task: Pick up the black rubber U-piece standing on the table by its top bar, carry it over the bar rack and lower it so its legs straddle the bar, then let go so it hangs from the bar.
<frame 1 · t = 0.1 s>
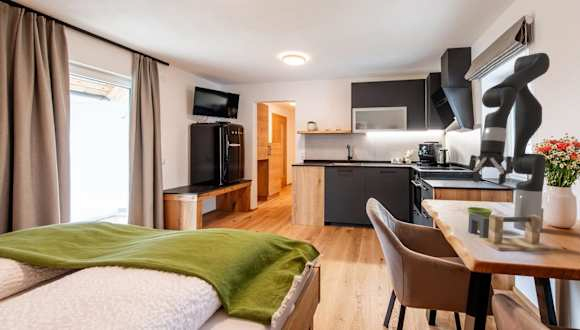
hand: (487, 183, 113), 22 cm above the table, tool pointing down, fingers open, 8 cm apart
bar rack: (513, 245, 110), on the table
rubber u: (478, 235, 122), on the table
plant pot: (478, 229, 132), on the table
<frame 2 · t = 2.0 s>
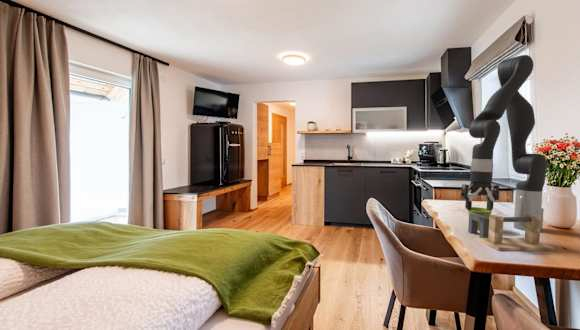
hand: (478, 210, 121), 10 cm above the table, tool pointing down, fingers open, 8 cm apart
nothing on the table moved.
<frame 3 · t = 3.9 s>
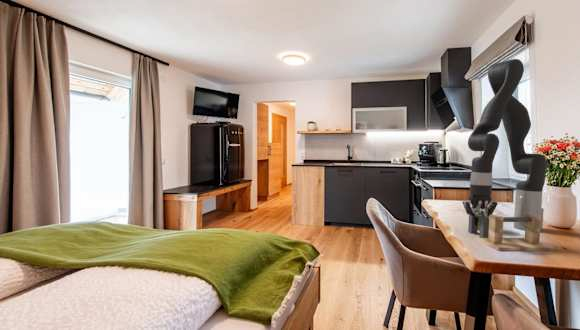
hand: (478, 225, 121), 4 cm above the table, tool pointing down, fingers closed on rubber u, 2 cm apart
rubber u: (478, 235, 122), on the table, touching gripper
everything else where it was.
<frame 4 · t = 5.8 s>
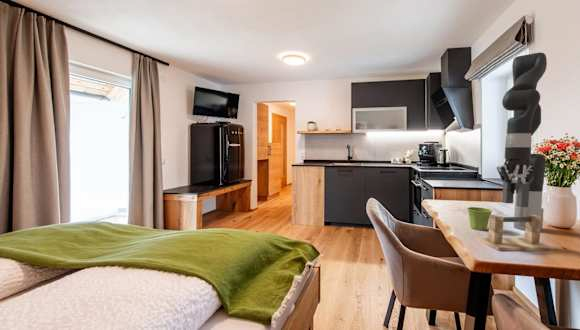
hand: (515, 193, 109), 19 cm above the table, tool pointing down, fingers closed on rubber u, 2 cm apart
rubber u: (514, 204, 109), point 15 cm above the table, touching gripper
everything else where it was.
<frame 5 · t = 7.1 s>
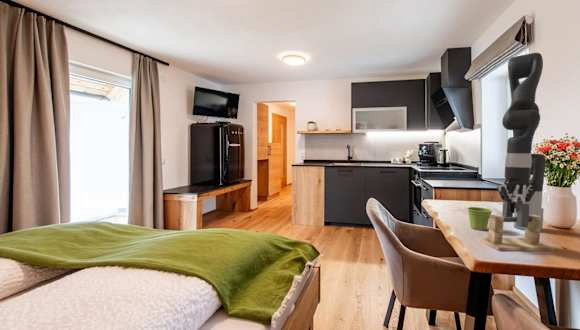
hand: (515, 212, 109), 12 cm above the table, tool pointing down, fingers closed on rubber u, 2 cm apart
rubber u: (514, 223, 109), point 8 cm above the table, touching gripper
everything else where it was.
when the fingers open (12 cm above the table, at t = 7.8 s): rubber u drops 3 cm, resting on bar rack.
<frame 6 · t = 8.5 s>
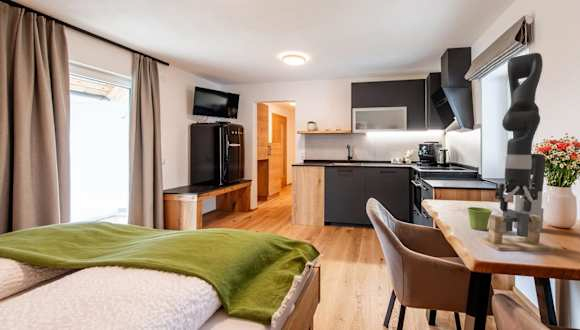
hand: (515, 211, 109), 13 cm above the table, tool pointing down, fingers open, 8 cm apart
rubber u: (514, 233, 110), point 4 cm above the table, touching bar rack
everything else where it was.
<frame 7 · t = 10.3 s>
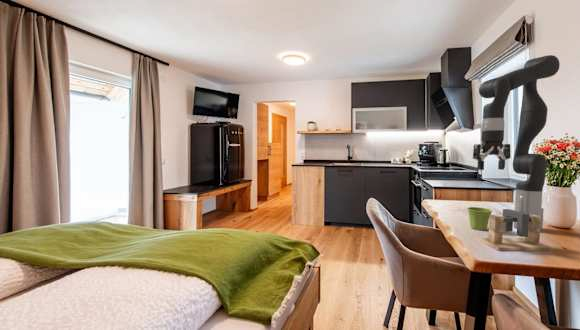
hand: (491, 169, 122), 27 cm above the table, tool pointing down, fingers open, 8 cm apart
nothing on the table moved.
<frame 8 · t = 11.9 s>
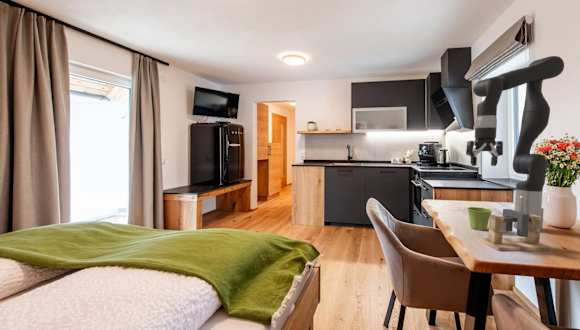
hand: (483, 165, 126), 28 cm above the table, tool pointing down, fingers open, 8 cm apart
nothing on the table moved.
at the end: rubber u inside the target area on the bar rack (0.1 cm from its centre), point 4.5 cm above the bar rack's base; rubber u touching bar rack; the gripper is holding nothing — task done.
